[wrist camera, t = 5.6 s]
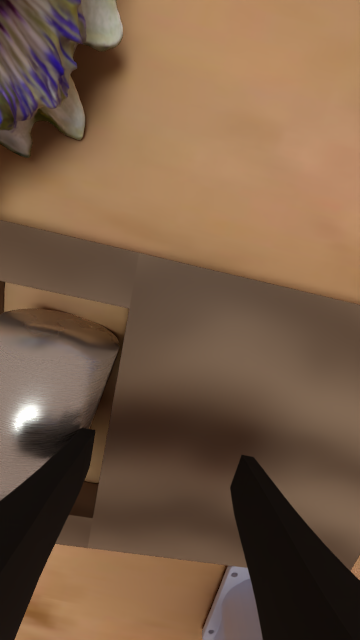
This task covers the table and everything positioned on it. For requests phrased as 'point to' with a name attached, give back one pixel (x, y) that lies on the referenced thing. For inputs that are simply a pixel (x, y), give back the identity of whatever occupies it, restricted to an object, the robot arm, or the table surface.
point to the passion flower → (47, 63)
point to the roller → (47, 385)
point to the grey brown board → (207, 399)
